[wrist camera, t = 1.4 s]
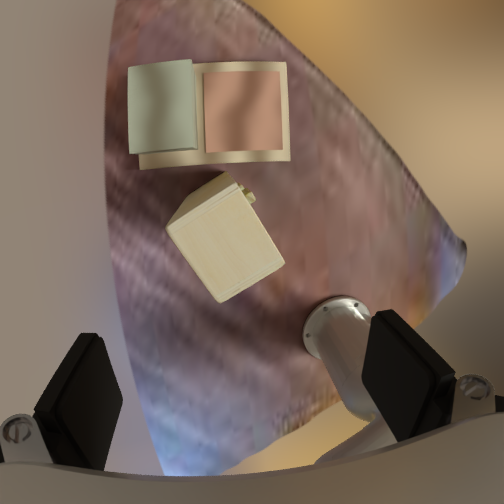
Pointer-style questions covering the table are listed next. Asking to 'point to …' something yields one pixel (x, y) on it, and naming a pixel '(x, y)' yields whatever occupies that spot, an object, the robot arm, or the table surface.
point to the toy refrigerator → (223, 238)
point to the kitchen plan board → (208, 113)
